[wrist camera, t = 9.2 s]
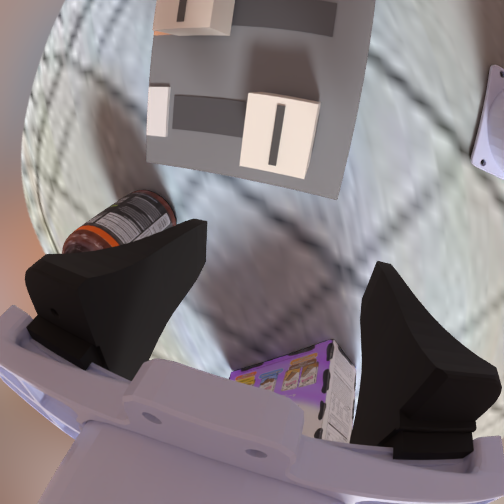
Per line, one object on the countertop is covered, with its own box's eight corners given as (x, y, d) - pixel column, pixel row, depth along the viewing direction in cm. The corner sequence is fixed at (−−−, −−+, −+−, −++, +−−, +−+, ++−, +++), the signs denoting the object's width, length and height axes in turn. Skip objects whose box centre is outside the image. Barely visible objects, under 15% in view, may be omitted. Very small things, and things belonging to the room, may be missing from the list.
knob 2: (320, 102, 16) (318, 104, 13) (309, 164, 18) (303, 179, 15) (262, 92, 16) (247, 92, 13) (254, 153, 18) (238, 166, 16)
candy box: (259, 395, 36) (221, 508, 22) (230, 369, 35) (179, 490, 21) (358, 369, 29) (343, 516, 16) (332, 336, 28) (306, 503, 14)
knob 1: (237, -18, 13) (219, -35, 10) (229, 35, 15) (208, 27, 12) (186, -16, 13) (161, -29, 10) (178, 35, 15) (151, 30, 12)
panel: (378, -84, 8) (381, -98, 6) (337, 190, 21) (337, 201, 19) (193, -91, 10) (181, -102, 8) (159, 155, 23) (144, 163, 21)
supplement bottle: (157, 258, 28) (86, 338, 19) (115, 215, 27) (32, 281, 18) (192, 222, 25) (113, 308, 16) (144, 173, 24) (46, 235, 15)
